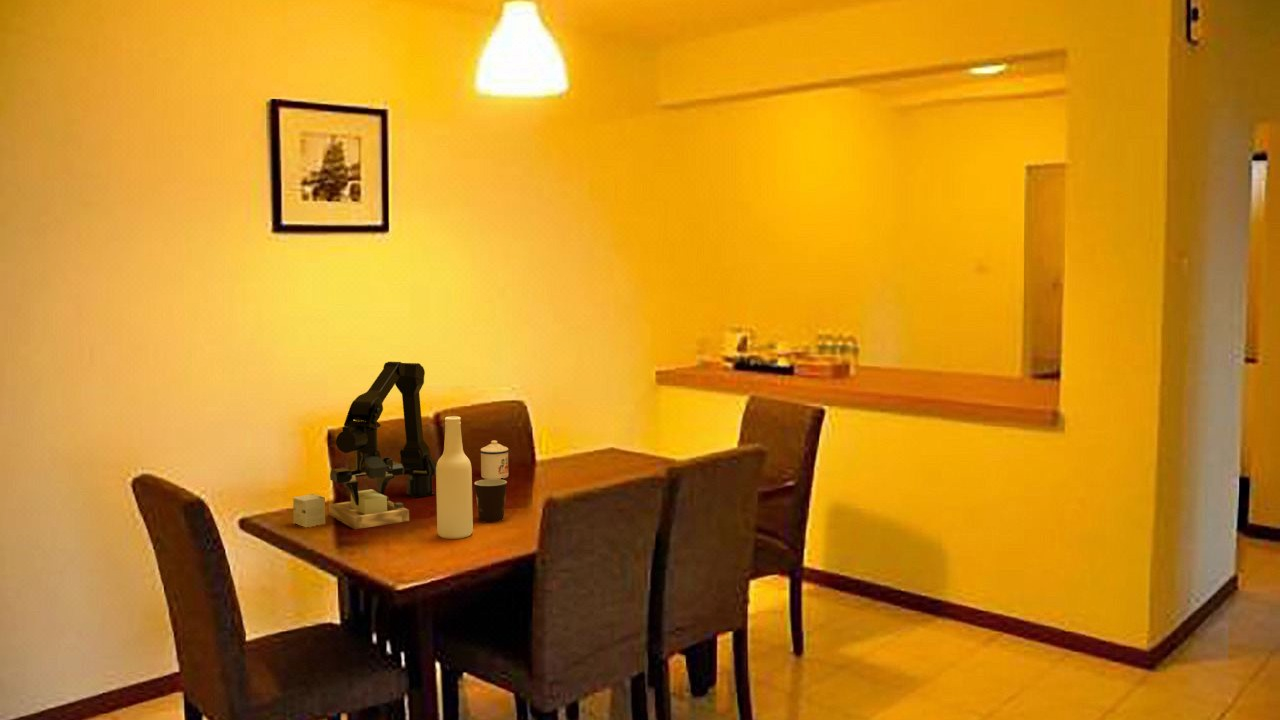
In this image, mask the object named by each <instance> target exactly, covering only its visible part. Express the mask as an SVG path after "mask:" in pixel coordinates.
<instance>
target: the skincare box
mask: <svg viewBox="0 0 1280 720" xmlns="http://www.w3.org/2000/svg"><path fill="white" fill-rule="evenodd" d="M292 500H293V504H292V505H293V507H292V509H293V514H292V515H293V524H294V523H296V524H298V525H301V526H304V527H309V526H314V525H318V526H320V525H319V524H323V525H325V524H326V497H324V496H322V495H318V494H315V493H311V494H306V495H305V494H304V495H299V496H294V497H293V498H292ZM324 523H325V524H324ZM298 525H297V526H298ZM301 526H300V527H301ZM304 527H303V528H304ZM314 527H315V526H314ZM309 528H310V527H309Z"/></svg>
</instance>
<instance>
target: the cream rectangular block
mask: <svg viewBox="0 0 1280 720" xmlns="http://www.w3.org/2000/svg"><path fill="white" fill-rule="evenodd" d="M358 496H359V505H356V504H355V501H354V499H353V497H352V495H351V494H350V501H351V507H353V508H354V509H356V510H358V511H360V512H362V513H363V514H372V513H379V512H385V511H387V497H388V496H387V495H382V494H380V493H378V492H377V491H376V490H375V489H371V488H370V489H362V490H358Z"/></svg>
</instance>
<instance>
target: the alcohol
mask: <svg viewBox="0 0 1280 720" xmlns="http://www.w3.org/2000/svg"><path fill="white" fill-rule="evenodd" d="M461 419H462V418H461V416H457V415H452V416H445V418H444V421H445V422H444V425H445V429H444V440H443V441H444V443H443V444H444V445H443V452H442V455H441V456H440V457H439V458H438V461H436V465H437V466H436V474H435V479H436V480H435V481H436V482H435V483H436V484H435V485H436V486H435V487H436V524H437V525H436V526H437V529H436V530H437V534H438V536H439V537H440V538H442V539H445V540H447V539H448V540H451V539H452V540H457V539H459V540H460V539H464V538H468V537H470V536H471V535H472V533H473V530H474V527H473V525H474V524H473V521H474V518H473V481H472V480H473V478H472V477H473V475H472V474H473V472H472V471H473V470H472V467H473V466H472V463H471V460H470V458H468V456H467V455H466V454H465V451H464V447H463V438H462V437H463V435H462V428H461V426H462V425H461V424H462V422H461Z"/></svg>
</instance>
